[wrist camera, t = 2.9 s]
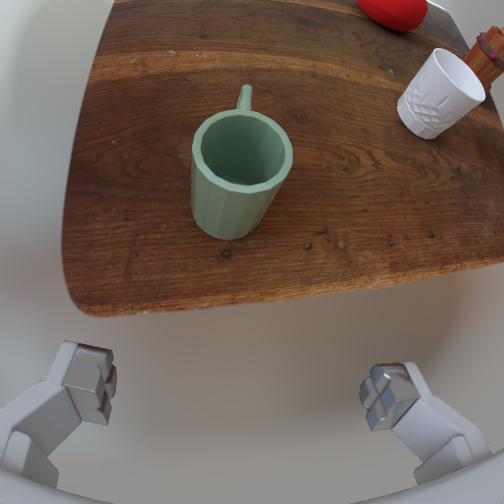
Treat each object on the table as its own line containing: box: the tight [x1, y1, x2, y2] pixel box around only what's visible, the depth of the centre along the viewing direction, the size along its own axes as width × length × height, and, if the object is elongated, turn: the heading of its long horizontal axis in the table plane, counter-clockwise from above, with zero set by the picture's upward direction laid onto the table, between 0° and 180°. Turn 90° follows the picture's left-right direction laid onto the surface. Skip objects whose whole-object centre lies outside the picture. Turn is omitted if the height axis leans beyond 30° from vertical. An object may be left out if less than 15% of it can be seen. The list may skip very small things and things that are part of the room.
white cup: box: [397, 48, 485, 139], centre depth 30 cm, size 8×8×10 cm
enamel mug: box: [191, 85, 293, 240], centre depth 23 cm, size 10×6×9 cm, turn 176°
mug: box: [458, 26, 504, 96], centre depth 34 cm, size 15×8×15 cm, turn 138°
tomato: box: [357, 0, 428, 31], centre depth 36 cm, size 11×13×10 cm
